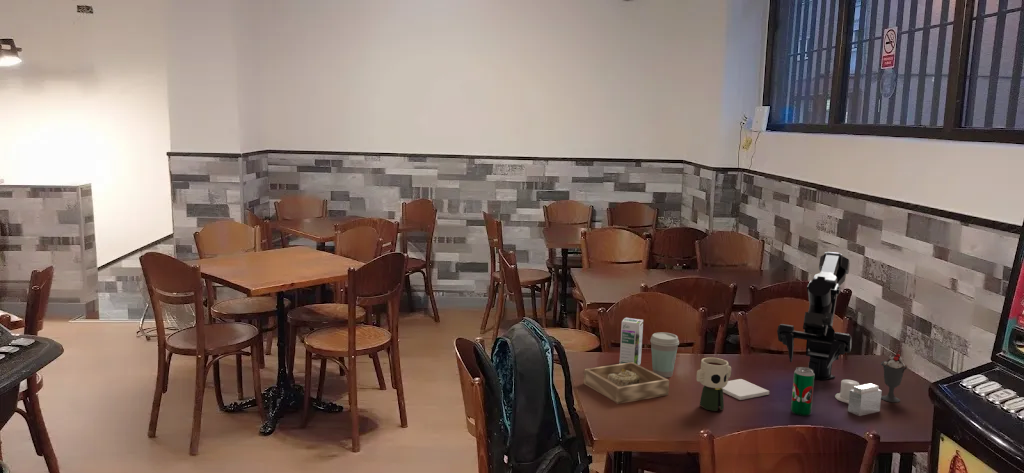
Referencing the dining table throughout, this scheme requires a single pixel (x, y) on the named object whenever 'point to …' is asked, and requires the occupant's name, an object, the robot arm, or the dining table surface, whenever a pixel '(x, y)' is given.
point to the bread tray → (646, 388)
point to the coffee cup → (664, 353)
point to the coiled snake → (624, 378)
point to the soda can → (802, 391)
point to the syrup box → (631, 341)
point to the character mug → (713, 382)
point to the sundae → (893, 375)
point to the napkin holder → (864, 399)
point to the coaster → (743, 389)
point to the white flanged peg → (846, 390)
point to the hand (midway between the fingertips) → (808, 364)
